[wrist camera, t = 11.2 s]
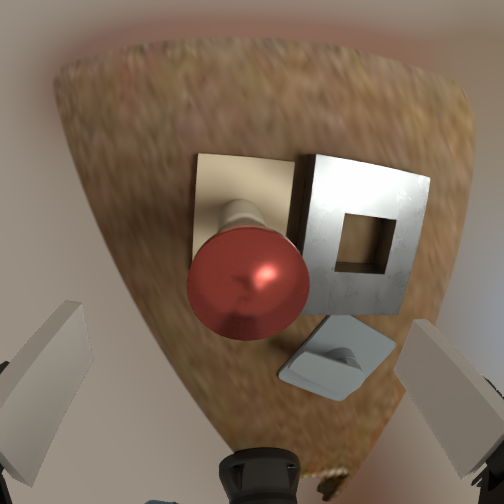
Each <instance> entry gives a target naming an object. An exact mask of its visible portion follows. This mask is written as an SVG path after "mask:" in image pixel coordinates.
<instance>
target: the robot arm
mask: <svg viewBox="0 0 504 504" xmlns="http://www.w3.org/2000/svg"><path fill="white" fill-rule="evenodd" d="M93 361H94V359H93V354H92V350H91V346H90V341H89V336H88V332H87V327H86V321H85V316H84V310H83V304H82V303H81V302H74V301H68V300H66V301H65V302H64V303H63V304H62V305H61V306H60V307H59V308H58V309H57V310H56V311H55V312H54V313H53V314H52V315H51V316H50V317H49V319H48V320H47V321H46V322H45V323H44V324H43V325H42V326H41V328H39V330H38V331H37V332H36V333H35V334H34V335H33V336H32V337H31V338H30V340H29V341H28V342H27V343H26V344H25V345H24V347H23V348H22V349H21V350H20V351H19V352H18V354H17V355H16V356H15V357H14V359H12V361H11V362H8V361H5V362H3V363H2V364H0V504H12V501H11V498H10V495H9V492H8V488H7V485H6V482H5V479H4V478H3V475H2V474H1V473H2V471H3V469H5V470H6V471H7V472H8V473H9V474H10V475H11V476H12V478H14V479H16V480H18V481H20V482H22V483H24V484H26V485H28V486H30V487H32V486H33V484H34V481H35V479H36V476H37V474H38V471H39V469H40V467H41V464H42V462H43V460H44V458H45V455H46V453H47V451H48V449H49V446H50V444H51V442H52V440H53V438H54V436H55V434H56V431H57V429H58V427H59V425H60V423H61V421H62V419H63V417H64V415H65V413H66V411H67V409H68V407H69V405H70V403H71V401H72V399H73V398H74V396H75V394H76V392H77V390H78V388H79V386H80V384H81V382H82V381H83V379H84V377H85V375H86V373H87V372H88V370H89V368H90V366H91V364H92V363H93ZM393 371H394V373H395V374H396V376H397V377H398V379H399V380H400V382H401V383H402V385H403V386H404V388H405V389H406V391H407V392H408V394H409V395H410V397H411V398H412V400H413V401H414V403H415V405H416V406H417V408H418V409H419V411H420V412H421V414H422V415H423V417H424V419H425V420H426V422H427V423H428V425H429V427H430V428H431V430H432V431H433V433H434V435H435V436H436V438H437V439H438V441H439V443H440V444H441V446H442V448H443V449H444V451H445V453H446V454H447V456H448V458H449V459H450V461H451V463H452V465H453V466H454V468H455V470H456V471H457V473H458V475H459V477H460V478H461V480H462V479H463V478H465V477H467V476H469V475H471V474H473V473H475V472H476V471H477V470H478V469H479V468H480V467H481V466H482V465H483V464H484V463H485V462H486V464H487V465H488V466H487V467H486V468H485V469H484V470H483V471H482V472H481V473H480V474H479V475H478V476H477V477H476V478H475V479H474V480H473V481H472V484H471V485H472V486H473V485H474V484H476V483H477V482H478V481H479V480H480V479H481V478H482V480H481V481H480V482H479V483H478V484H477V487H481V489H480V495H479V502H478V504H504V397H502V394H500V392H499V391H498V390H496V388H495V387H494V385H492V383H491V382H490V381H489V380H487V379H486V378H485V377H483V376H482V375H480V373H479V372H478V371H477V370H476V369H475V368H474V367H473V366H472V364H470V362H469V361H468V360H467V359H466V358H465V357H464V356H463V355H462V354H461V353H460V352H459V351H458V350H457V349H456V348H455V347H454V346H453V345H452V344H451V343H450V342H449V341H448V340H447V339H446V338H445V337H444V336H443V335H442V334H441V333H440V332H439V331H438V330H437V329H436V328H435V327H434V326H433V325H432V324H431V323H430V322H429V321H428V320H427V319H413V321H412V324H411V327H410V330H409V333H408V335H407V338H406V341H405V343H404V346H403V348H402V351H401V353H400V356H399V358H398V360H397V363H396V365H395V368H394V370H393ZM300 472H301V467H300V462H299V459H298V457H297V456H296V455H295V454H293V453H291V452H289V451H286V450H282V449H275V448H258V449H250V450H244V451H240V452H237V453H234V454H232V455H230V456H228V457H226V458H225V459H223V461H221V463H220V465H219V477H220V480H221V483H222V485H223V487H224V490H225V492H226V494H227V497H228V499H229V504H297V499H296V492H297V487H298V482H299V477H300ZM145 504H177V503H176V502H172V503H171V502H164V501H157V500H151V501H148V502H146V503H145Z"/></svg>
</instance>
